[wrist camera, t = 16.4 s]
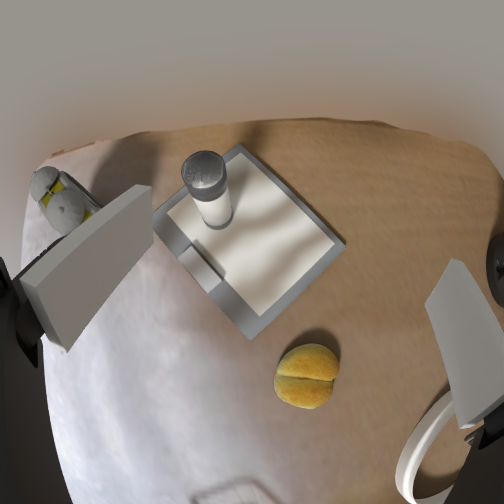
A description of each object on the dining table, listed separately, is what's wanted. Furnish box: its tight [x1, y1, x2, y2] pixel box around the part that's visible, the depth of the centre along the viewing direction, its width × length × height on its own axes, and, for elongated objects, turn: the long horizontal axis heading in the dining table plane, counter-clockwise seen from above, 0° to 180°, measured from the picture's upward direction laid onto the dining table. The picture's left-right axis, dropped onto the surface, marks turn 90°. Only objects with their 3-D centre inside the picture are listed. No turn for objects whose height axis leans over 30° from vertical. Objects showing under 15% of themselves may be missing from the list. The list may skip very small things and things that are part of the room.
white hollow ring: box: [395, 390, 456, 504], centre depth 28 cm, size 27×27×6 cm
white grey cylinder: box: [181, 151, 233, 230], centre depth 31 cm, size 4×4×13 cm
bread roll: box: [274, 343, 339, 409], centre depth 33 cm, size 8×9×4 cm
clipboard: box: [152, 144, 346, 341], centre depth 37 cm, size 22×18×2 cm
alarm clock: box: [30, 166, 104, 236], centre depth 31 cm, size 12×7×15 cm, turn 50°
